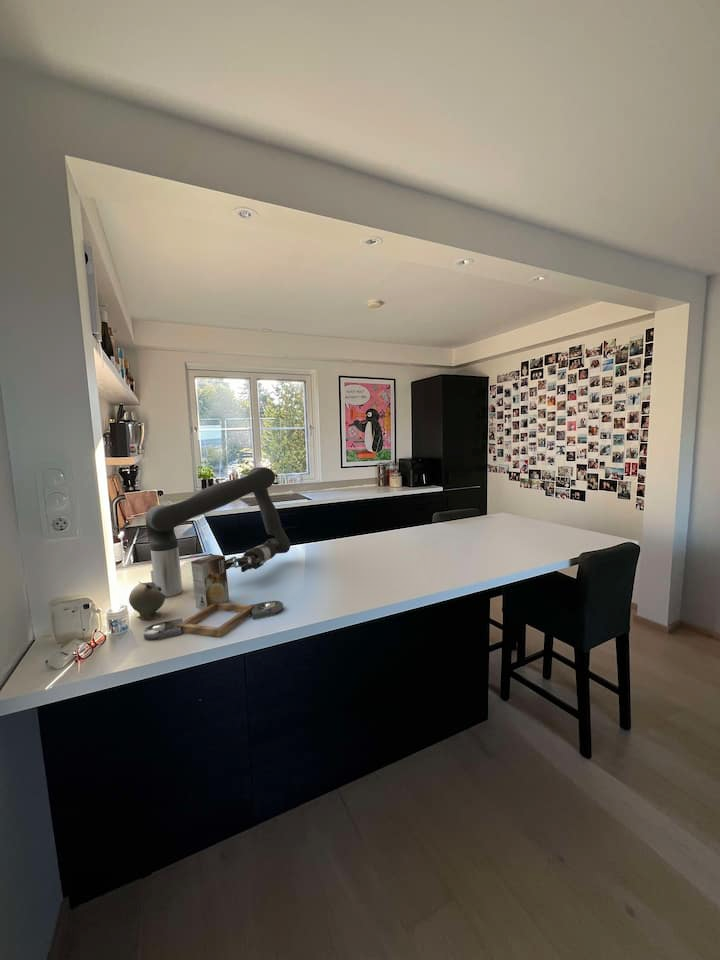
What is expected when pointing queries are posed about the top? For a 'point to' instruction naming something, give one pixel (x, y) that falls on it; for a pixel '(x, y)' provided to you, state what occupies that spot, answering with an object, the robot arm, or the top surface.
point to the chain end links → (171, 627)
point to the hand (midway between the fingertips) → (232, 568)
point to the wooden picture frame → (190, 628)
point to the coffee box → (210, 580)
